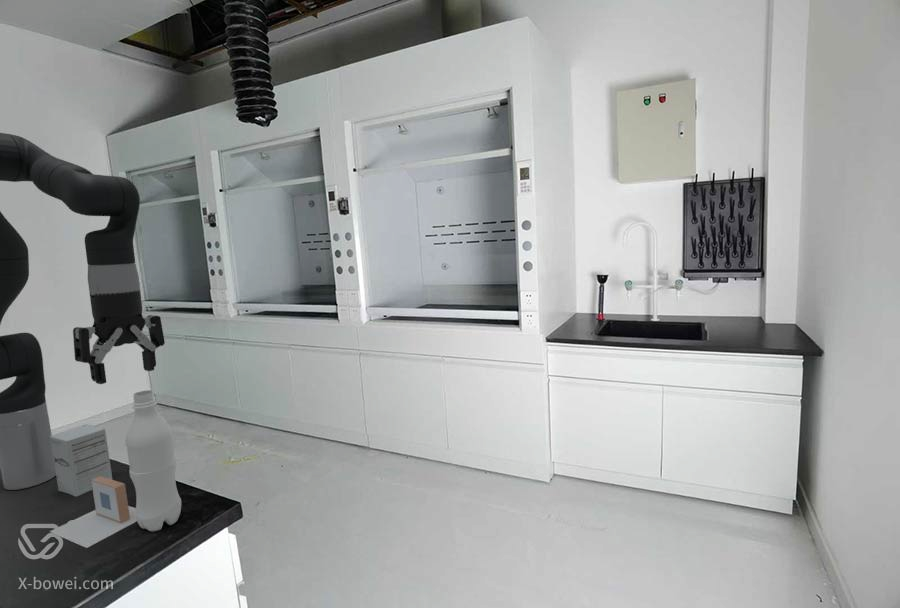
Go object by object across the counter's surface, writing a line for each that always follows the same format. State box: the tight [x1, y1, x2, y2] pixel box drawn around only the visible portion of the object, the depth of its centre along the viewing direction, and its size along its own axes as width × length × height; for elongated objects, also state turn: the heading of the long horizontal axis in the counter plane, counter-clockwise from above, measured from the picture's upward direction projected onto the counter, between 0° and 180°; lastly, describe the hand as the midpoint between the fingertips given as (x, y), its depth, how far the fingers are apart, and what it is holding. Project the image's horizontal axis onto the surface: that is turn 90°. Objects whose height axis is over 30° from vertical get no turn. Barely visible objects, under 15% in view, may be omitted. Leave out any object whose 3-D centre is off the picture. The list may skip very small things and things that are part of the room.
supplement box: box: [50, 423, 114, 498], centre depth 103 cm, size 7×7×13 cm
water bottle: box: [124, 389, 182, 532], centre depth 87 cm, size 7×7×25 cm
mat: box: [49, 505, 138, 549], centre depth 89 cm, size 12×11×1 cm
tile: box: [91, 476, 130, 523], centre depth 90 cm, size 8×2×7 cm, turn 64°
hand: (126, 376), depth 88 cm, fingers open, 8 cm apart
